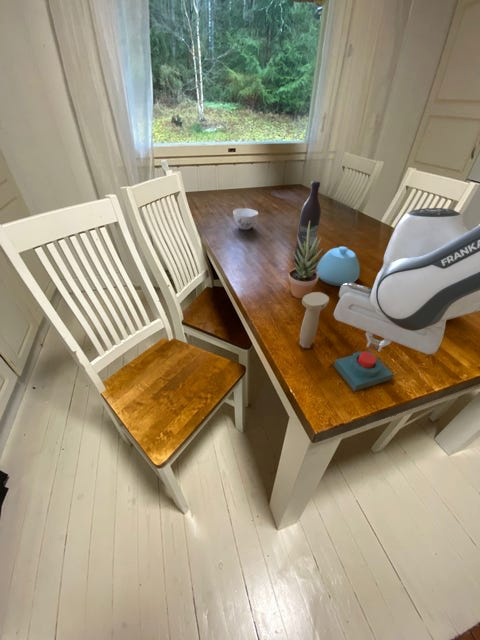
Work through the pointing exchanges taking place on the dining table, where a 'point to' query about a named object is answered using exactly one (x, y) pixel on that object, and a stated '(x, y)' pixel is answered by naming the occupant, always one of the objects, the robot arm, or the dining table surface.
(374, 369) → the button block
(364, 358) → the red button
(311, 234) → the wine bottle
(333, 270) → the sugar bowl
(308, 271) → the potted plant
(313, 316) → the handle
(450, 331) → the dining table surface
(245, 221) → the teacup
